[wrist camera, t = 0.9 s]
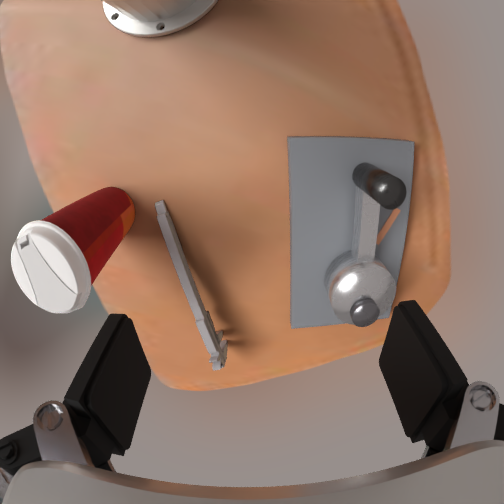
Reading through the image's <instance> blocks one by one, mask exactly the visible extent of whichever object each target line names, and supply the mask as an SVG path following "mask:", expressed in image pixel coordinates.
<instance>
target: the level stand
mask: <svg viewBox="0 0 504 504" xmlns="http://www.w3.org/2000/svg"><path fill="white" fill-rule="evenodd" d="M287 142H288V166H289V198H290V269H291V284H290V323H291V329H293V328H305V327H316V326H326V325H336V324H345V322H343V321H341V320H340V319H339V318H338V317H337V316H336V315H335V313H334V311H333V308H332V305H331V303H330V300H329V297H328V295H327V292H326V289H325V286H324V277H325V273H326V271H327V268H328V267H329V265H330V264H331V262H332V261H333V260H334V259H335V258H337V257H338V256H339V255H341V254H343V253H344V252H347V251H349V250H352V240H353V228H354V213H355V195H356V185H355V184H354V182H353V179H352V174H353V170H354V169H355V167H356V166H357V165H358V164H360V163H364V162H366V163H370V164H372V165H374V166H376V167H378V168H380V169H382V170H384V171H386V172H388V173H390V174H392V175H394V176H395V177H397V178H399V179H401V180H402V181H403V182H404V184H405V186H406V191H407V192H406V198H405V200H404V202H403V203H402V205H401V206H399V207H398V208H396V209H392V210H389V209H385V208H384V207H382V206H381V205H380V213H379V223H378V233H377V241H376V249H375V255H376V256H377V257H378V258H379V259H380V261H381V262H382V263H383V265H384V266H385V267H386V269H387V270H388V271H389V273H390V274H391V275H392V277H393V278H394V280H395V283H396V286H397V281H398V276H399V271H400V266H401V261H402V255H403V249H404V243H405V237H406V230H407V223H408V216H409V208H410V199H411V188H412V176H413V161H414V142H412V141H409V140H399V139H387V138H370V137H345V136H291V137H287ZM392 303H393V302H392ZM391 307H392V304H391V306H390V307H389V308H388V309H387V311H386V312H385V313H384V314H382V315H381V316H380V317H378V318H377V319H383V318H389V315H390V311H391Z"/></svg>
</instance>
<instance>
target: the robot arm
mask: <svg viewBox="0 0 504 504" xmlns="http://www.w3.org/2000/svg"><path fill="white" fill-rule="evenodd" d="M101 1H103V10H104V12H105V15H106V18H107V19H108V20H109V22H110V23H111V24H112V25H113V26H114V27H116V28H117V29H118V30H120V31H122V32H124V33H127V34H129V35H132V36H138V37H157V36H163V35H168V34H171V33H174V32H177V31H179V30H182V29H184V28H186V27H188V26H190V25H192V24H193V23H195V22H196V21H198V20H199V19H201V18H202V17H203V16H204V15H205V14H207V13H208V12H209V11H210V10H211V9H212V8H213V6H214V5H215V4H216V3H217V1H218V0H101ZM162 27H165V28H164V29H163V30H161V28H162ZM379 366H380V369H381V371H382V373H383V376H384V379H385V381H386V384H387V386H388V389H389V391H390V393H391V396H392V399H393V401H394V404H395V407H396V410H397V412H398V415H399V417H400V420H401V423H402V426H403V428H404V432H405V434H406V436H407V437H410V438H411V441H412V443H415V442H418V441H421V440H425V443H426V448H425V450H424V453H423V455H422V457H421V459H419V460H416V461H414V462H410V463H407V464H403V465H400V466H396V467H392V468H389V469H385V470H381V471H377V472H373V473H369V474H364V475H359V476H355V477H350V478H344V479H338V480H332V481H325V482H318V483H311V484H302V485H290V486H276V487H214V486H199V485H188V484H179V483H171V482H164V481H158V480H152V479H146V478H141V477H135V476H130V475H125V474H120V473H117V472H116V471H115V469H114V467H113V465H112V463H111V461H110V458H111V454H117V455H122V456H124V453H125V450H127V449H129V448H130V445H131V442H132V438H133V434H134V431H135V427H136V424H137V420H138V417H139V413H140V410H141V407H142V403H143V400H144V397H145V394H146V390H147V387H148V384H149V381H150V377H151V369H150V366H149V364H148V361H147V359H146V356H145V354H144V351H143V349H142V346H141V343H140V341H139V338H138V335H137V333H136V330H135V327H134V324H133V322H132V320H131V319H130V318H128V317H127V315H126V314H110V315H109V316H108V318H107V320H106V321H105V323H104V325H103V326H102V328H101V330H100V332H99V333H98V335H97V337H96V339H95V340H94V342H93V344H92V346H91V347H90V349H89V351H88V353H87V355H86V357H85V359H84V361H83V362H82V364H81V366H80V368H79V370H78V372H77V373H76V375H75V377H74V379H73V381H72V383H71V385H70V387H69V389H68V391H67V393H66V395H65V397H64V401H63V403H61V402H59V401H52V400H51V401H47V402H45V403H43V404H42V405H40V406H39V407H38V408H37V409H36V411H35V413H34V416H33V424H32V425H30V426H28V427H26V428H23V429H21V430H19V431H17V432H15V433H13V434H10V435H8V436H6V437H4V438H2V439H1V440H0V504H504V405H502V404H500V403H499V395H498V392H497V391H496V390H495V388H494V387H493V386H491V385H490V384H488V383H486V382H482V381H477V382H474V383H472V384H470V385H469V384H468V382H467V378H466V376H465V374H464V373H463V372H462V370H461V368H460V366H459V365H458V363H457V361H456V360H455V358H454V356H453V355H452V353H451V352H450V350H449V349H448V347H447V346H446V344H445V342H444V341H443V340H442V338H441V336H440V335H439V333H438V332H437V330H436V329H435V327H434V326H433V325H432V323H431V322H430V320H429V319H428V317H427V316H426V314H425V313H424V312H423V310H422V309H421V307H420V306H419V305H418V303H417V302H416V301H415V300H410V301H402V302H399V304H398V306H396V307H395V308H394V311H393V314H392V318H391V322H390V325H389V329H388V332H387V335H386V339H385V342H384V345H383V348H382V352H381V355H380V358H379Z"/></svg>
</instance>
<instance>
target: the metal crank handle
mask: <svg viewBox="0 0 504 504" xmlns="http://www.w3.org/2000/svg"><path fill="white" fill-rule="evenodd" d="M352 179H353V182H354V184H355V185H356V195H355V213H354V228H353V240H352V250H349V251H347V252H344V253H343V254H341V255H339V256H338V257H337V258H335V259H334V260H333V261H332V262H331V264H330V265H329V267H328V268H327V271H326V273H325V277H324V286H325V289H326V292H327V295H328V297H329V300H330V303H331V305H332V308H333V311H334V313H335V315H336V316H337V317H338V318H339V319H340V320H341V321H343V322H345V323H348V324H354V325H356V326H358V327H366V326H369V325H371V324H372V323H374V322H375V321H376V320H377V318H378V317H380V316H381V315H382V314H384V313H385V312H386V311H387V309H388V308H389V307H390V306H391V304H392V302H393V300H394V298H395V294H396V283H395V280H394V278H393V277H392V275H391V274H390V273H389V271H388V270H387V269H386V267H385V266H384V265H383V263H382V262H381V261H380V259H379V258H378V257H377V256H376V255H375V249H376V241H377V233H378V223H379V213H380V205H381V206H382V207H384V208H385V209H389V210H392V209H396V208H398V207H399V206H401V205H402V203H403V202H404V200H405V198H406V192H407V191H406V186H405V184H404V182H403V181H402V180H401V179H399V178H397V177H395V176H394V175H392V174H390V173H388V172H386V171H384V170H382V169H380V168H378V167H376V166H374V165H372V164H370V163H366V162H364V163H360V164H358V165H357V166H356V167H355V169H354V170H353V174H352Z"/></svg>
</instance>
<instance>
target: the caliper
mask: <svg viewBox="0 0 504 504" xmlns="http://www.w3.org/2000/svg"><path fill="white" fill-rule="evenodd" d="M155 208H156V211H157V214H158V216H156V217H157V219H158V222H159V225H160V228H161V231H162V234H163V237H164V239H165V242H166V245H167V248H168V251H169V253H170V256H171V259H172V261H173V264H174V267H175V269H176V272H177V274H178V277H179V280H180V282H181V285H182V287H183V290H184V292H185V295H186V297H187V299H188V302H189V304H190V307H191V309H192V312H193V314H194V316H195V319H196V325H197V327H198V330H199V332H200V334H201V336H202V339H203V341H204V343H205V346H206V348H207V350H208V352H209V354H211V358H210V360H209V363H211V362H213V370H219V369H221V368H222V367H224V365H225V362H226V359H227V347H228V343H227V340H224V341H221V340H222V337H223V331H222V330H220V331H216V332H215V328H214V325H213V321H212V319H211V317H210V314H209V311H206V310H205V308H204V305H203V303H202V300H201V298H200V295H199V293H198V290H197V287H196V285H195V282H194V280H193V277H192V274H191V272H190V269H189V266H188V264H187V261H186V258H185V255H184V253H183V250H182V247H181V244H180V241H179V238H178V236H177V233H176V230H175V227H174V224H173V222H172V220H171V217H170V215H169V212H167V209H166V206H165V203H164V200H161V201H159V202H156V203H155Z"/></svg>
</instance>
